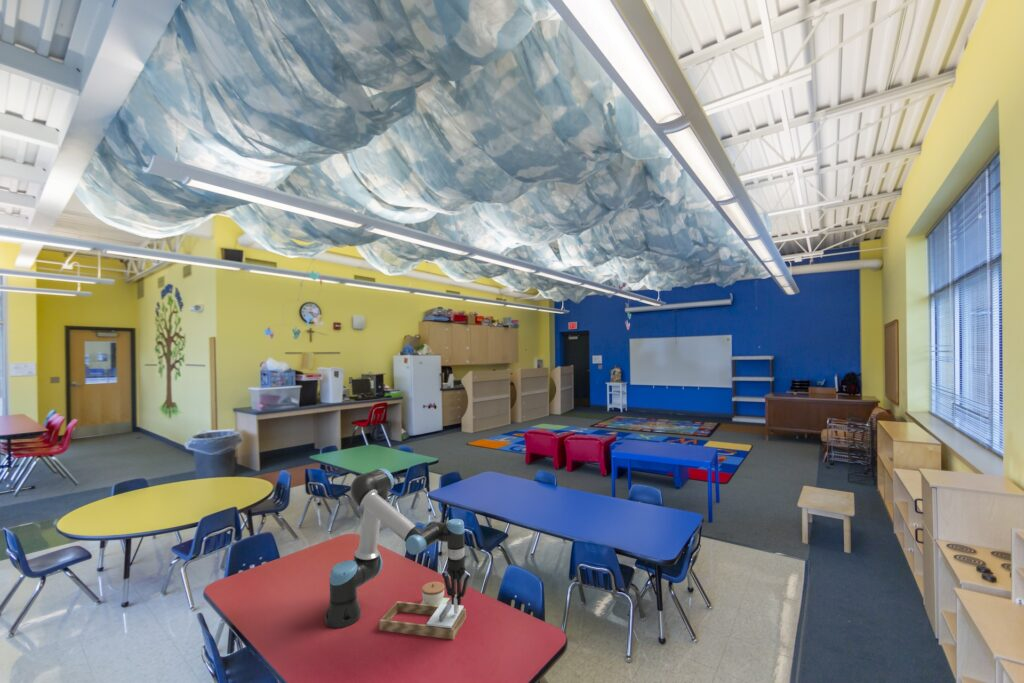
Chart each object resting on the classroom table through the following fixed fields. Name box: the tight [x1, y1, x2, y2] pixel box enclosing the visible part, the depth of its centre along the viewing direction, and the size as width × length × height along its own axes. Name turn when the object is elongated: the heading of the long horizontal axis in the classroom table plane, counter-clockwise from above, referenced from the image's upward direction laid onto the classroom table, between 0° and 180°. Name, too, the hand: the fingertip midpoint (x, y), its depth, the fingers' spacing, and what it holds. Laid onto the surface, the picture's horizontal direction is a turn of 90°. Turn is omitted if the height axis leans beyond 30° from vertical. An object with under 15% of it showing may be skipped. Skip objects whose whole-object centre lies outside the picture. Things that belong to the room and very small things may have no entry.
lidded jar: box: [421, 581, 446, 606], centre depth 208 cm, size 11×11×9 cm
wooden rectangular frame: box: [379, 600, 467, 640], centre depth 192 cm, size 34×16×4 cm, turn 78°
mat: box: [419, 597, 450, 606], centre depth 208 cm, size 12×12×1 cm
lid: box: [426, 600, 465, 628], centre depth 190 cm, size 11×16×3 cm
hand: (456, 612), depth 189 cm, fingers closed
